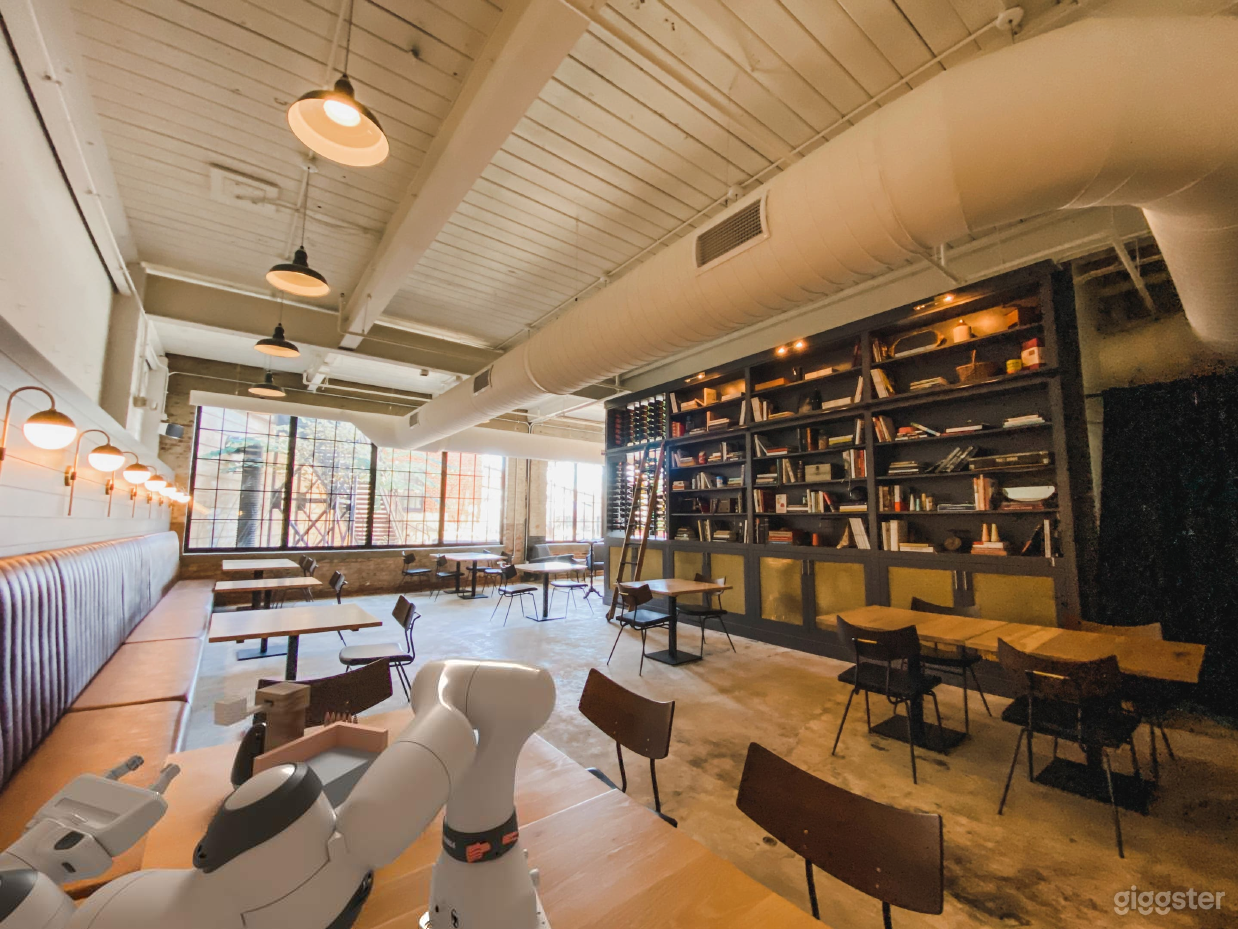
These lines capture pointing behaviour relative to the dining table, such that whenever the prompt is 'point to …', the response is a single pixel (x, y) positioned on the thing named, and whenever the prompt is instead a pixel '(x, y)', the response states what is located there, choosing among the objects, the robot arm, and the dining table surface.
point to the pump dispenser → (248, 754)
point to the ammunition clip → (339, 719)
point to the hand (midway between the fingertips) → (157, 761)
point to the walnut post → (284, 712)
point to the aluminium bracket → (236, 710)
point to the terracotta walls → (324, 744)
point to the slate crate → (340, 770)
